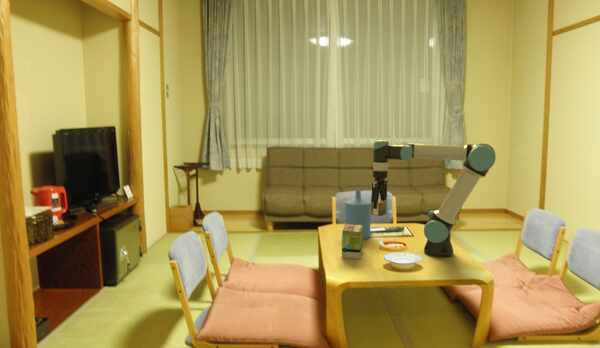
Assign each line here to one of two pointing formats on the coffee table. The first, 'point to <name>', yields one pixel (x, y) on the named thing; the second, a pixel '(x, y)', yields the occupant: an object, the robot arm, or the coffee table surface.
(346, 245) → the tea box
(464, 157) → the robot arm
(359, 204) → the water jug
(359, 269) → the coffee table surface
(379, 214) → the walnut block
